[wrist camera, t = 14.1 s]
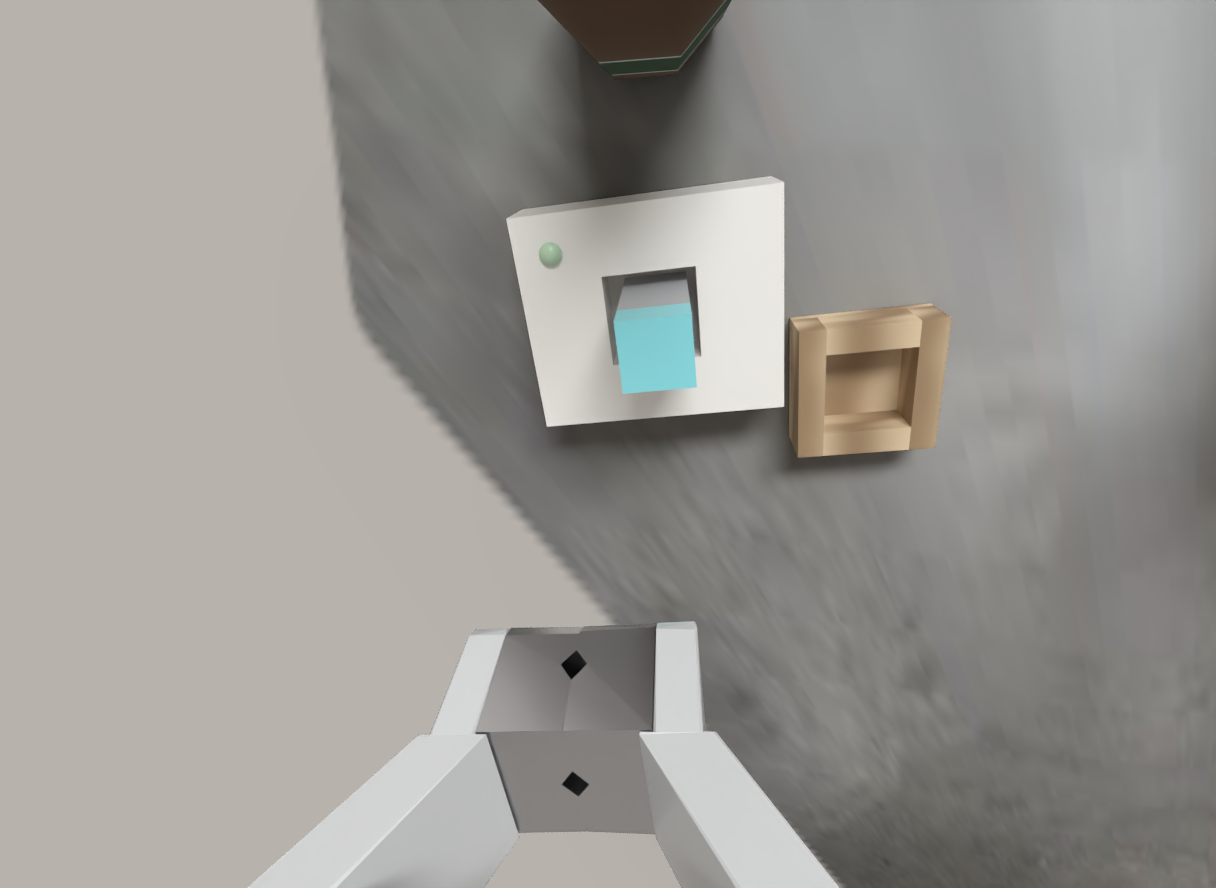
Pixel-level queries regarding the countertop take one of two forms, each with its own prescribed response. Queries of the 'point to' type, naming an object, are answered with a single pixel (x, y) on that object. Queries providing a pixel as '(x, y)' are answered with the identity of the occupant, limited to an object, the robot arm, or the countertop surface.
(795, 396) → the square wooden tray
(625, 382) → the plug
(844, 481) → the countertop surface
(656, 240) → the port
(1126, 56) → the countertop surface
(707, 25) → the beer bottle
